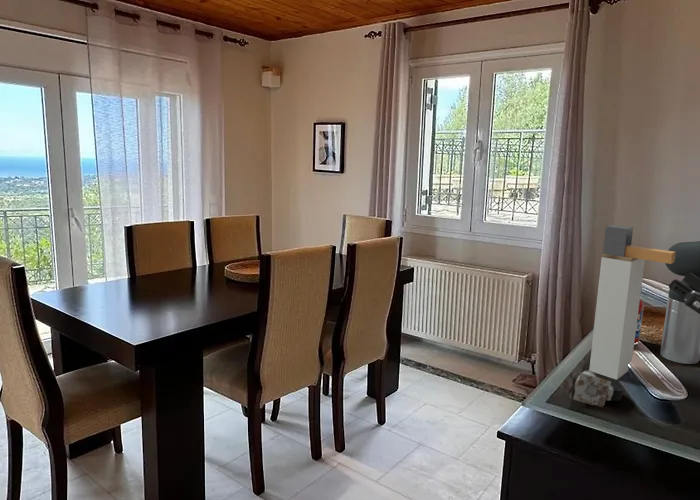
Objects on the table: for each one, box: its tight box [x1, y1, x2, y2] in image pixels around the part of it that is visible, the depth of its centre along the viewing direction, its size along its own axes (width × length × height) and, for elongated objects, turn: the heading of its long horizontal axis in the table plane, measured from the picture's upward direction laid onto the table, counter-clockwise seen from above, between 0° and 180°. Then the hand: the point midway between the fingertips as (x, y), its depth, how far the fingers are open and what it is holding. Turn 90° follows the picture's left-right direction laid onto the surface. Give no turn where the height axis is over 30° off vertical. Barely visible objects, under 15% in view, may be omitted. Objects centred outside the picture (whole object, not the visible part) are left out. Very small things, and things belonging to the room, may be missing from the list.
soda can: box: [634, 295, 645, 343], centre depth 149 cm, size 8×8×15 cm
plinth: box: [588, 253, 646, 380], centre depth 130 cm, size 7×10×32 cm
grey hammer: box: [602, 224, 676, 264], centre depth 122 cm, size 15×4×7 cm, turn 42°
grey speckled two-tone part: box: [573, 369, 624, 406], centre depth 119 cm, size 7×11×10 cm
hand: (678, 279), depth 107 cm, fingers open, 8 cm apart
